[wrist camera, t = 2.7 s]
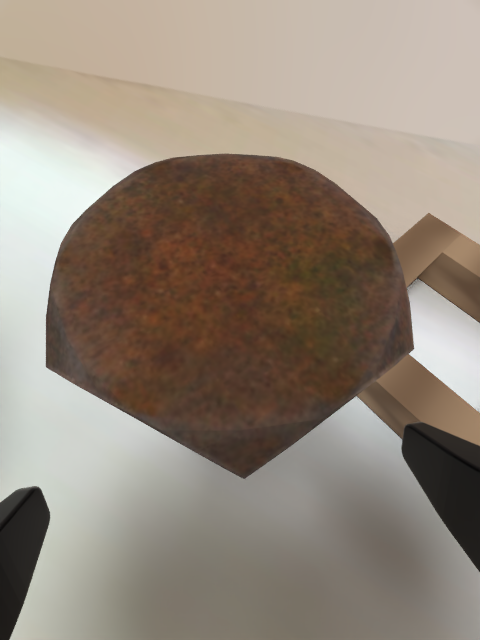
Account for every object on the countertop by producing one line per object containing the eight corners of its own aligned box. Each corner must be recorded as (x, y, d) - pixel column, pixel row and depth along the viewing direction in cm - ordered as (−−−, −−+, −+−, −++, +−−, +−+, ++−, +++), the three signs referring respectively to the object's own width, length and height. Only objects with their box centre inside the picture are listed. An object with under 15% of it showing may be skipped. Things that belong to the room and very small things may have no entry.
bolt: (289, 402, 18) (456, 213, 5) (255, 485, 16) (390, 562, 3) (208, 362, 19) (160, 115, 6) (165, 435, 17) (-62, 307, 4)
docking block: (577, 356, 20) (630, 339, 18) (484, 517, 16) (537, 527, 13) (407, 240, 25) (428, 213, 22) (296, 338, 20) (306, 317, 17)
